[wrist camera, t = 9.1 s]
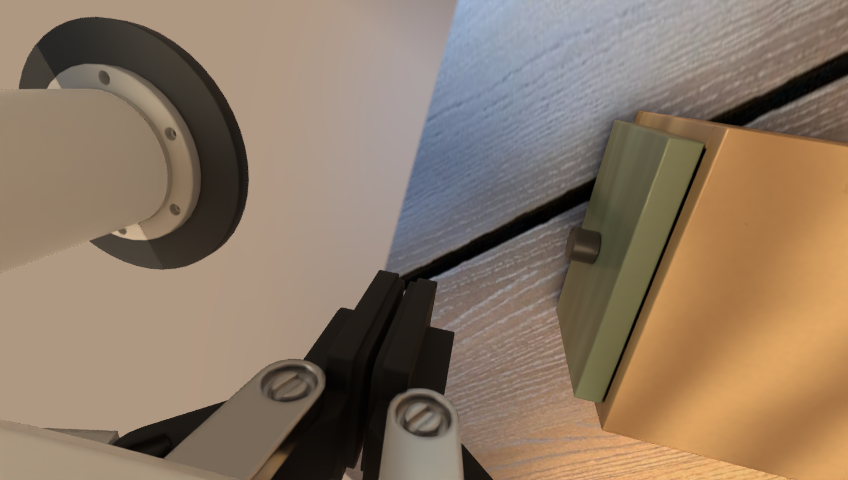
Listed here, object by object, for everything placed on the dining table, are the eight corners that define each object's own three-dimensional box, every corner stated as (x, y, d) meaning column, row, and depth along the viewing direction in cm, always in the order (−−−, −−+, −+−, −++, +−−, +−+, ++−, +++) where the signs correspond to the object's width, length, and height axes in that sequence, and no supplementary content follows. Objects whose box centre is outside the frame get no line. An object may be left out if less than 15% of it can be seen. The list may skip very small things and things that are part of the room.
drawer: (536, 304, 25) (546, 390, 18) (590, 115, 21) (631, 130, 14) (793, 362, 23) (917, 483, 16) (910, 167, 19) (1150, 215, 12)
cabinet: (570, 314, 26) (601, 430, 17) (637, 110, 21) (727, 126, 12) (820, 370, 24) (999, 533, 15) (955, 160, 19) (1324, 221, 11)
